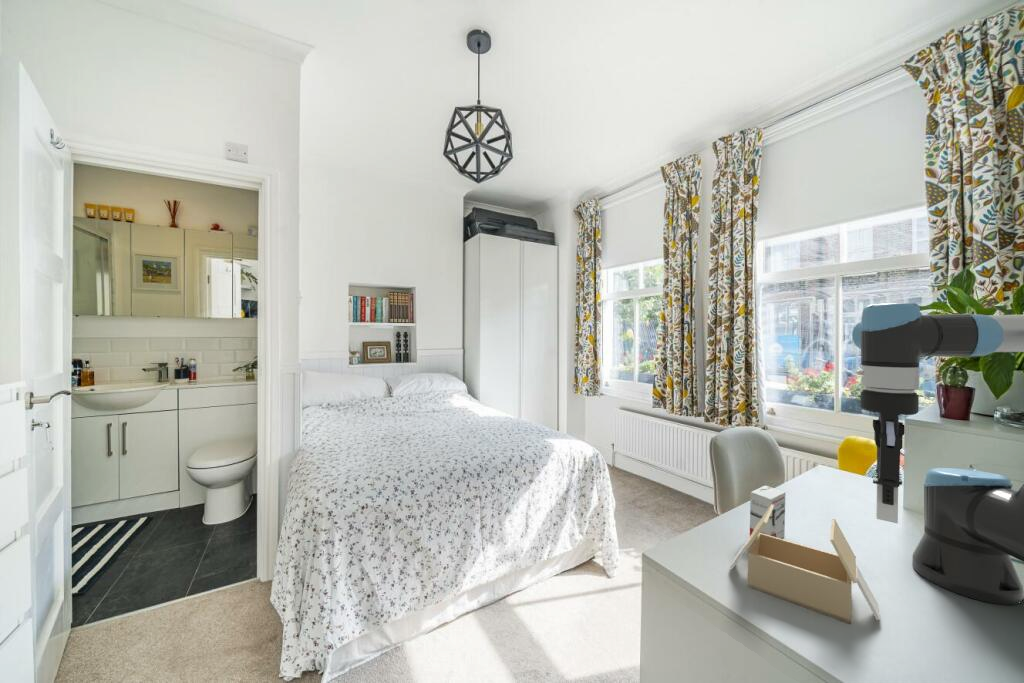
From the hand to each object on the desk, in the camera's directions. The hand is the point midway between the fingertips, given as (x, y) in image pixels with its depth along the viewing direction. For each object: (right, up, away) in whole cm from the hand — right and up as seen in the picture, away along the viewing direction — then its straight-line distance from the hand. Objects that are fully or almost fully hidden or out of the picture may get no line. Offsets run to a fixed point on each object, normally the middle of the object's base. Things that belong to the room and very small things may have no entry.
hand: (886, 519), depth 70 cm
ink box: (-3, -18, +29) cm, 34 cm away
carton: (-10, -18, +9) cm, 22 cm away
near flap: (-3, -11, +3) cm, 12 cm away
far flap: (-16, -11, +14) cm, 24 cm away
